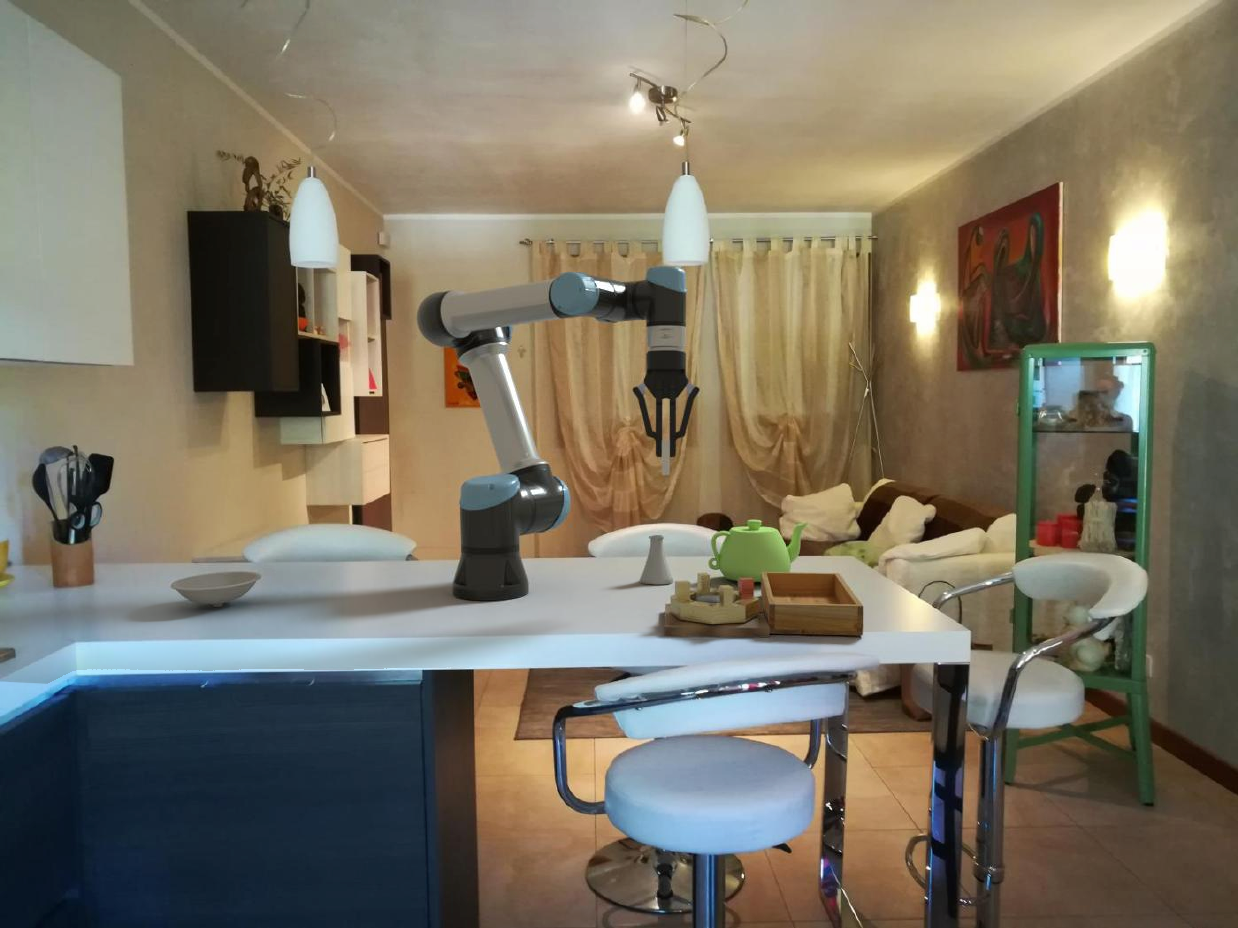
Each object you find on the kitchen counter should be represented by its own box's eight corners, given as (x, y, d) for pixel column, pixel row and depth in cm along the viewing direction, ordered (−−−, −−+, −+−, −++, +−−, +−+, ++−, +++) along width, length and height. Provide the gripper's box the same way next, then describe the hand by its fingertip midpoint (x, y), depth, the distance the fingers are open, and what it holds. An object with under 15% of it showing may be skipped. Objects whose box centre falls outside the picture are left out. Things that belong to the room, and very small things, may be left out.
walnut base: (664, 635, 145) (664, 609, 144) (665, 611, 162) (665, 588, 161) (771, 637, 144) (772, 610, 143) (761, 612, 161) (761, 589, 160)
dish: (225, 618, 157) (224, 590, 157) (151, 615, 159) (150, 588, 159) (278, 597, 175) (277, 572, 174) (211, 595, 177) (210, 570, 176)
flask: (673, 579, 192) (673, 533, 192) (673, 585, 185) (673, 538, 185) (640, 578, 193) (640, 533, 192) (638, 585, 186) (638, 538, 185)
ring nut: (663, 606, 158) (663, 574, 157) (738, 602, 161) (738, 570, 161) (687, 625, 144) (688, 590, 144) (768, 620, 147) (768, 586, 147)
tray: (760, 597, 176) (761, 569, 175) (839, 599, 174) (839, 570, 173) (768, 638, 145) (768, 603, 145) (863, 640, 143) (863, 605, 143)
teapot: (799, 573, 199) (800, 515, 198) (819, 586, 184) (820, 524, 183) (702, 574, 198) (702, 516, 197) (714, 588, 183) (715, 525, 182)
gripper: (630, 349, 165) (630, 475, 166) (701, 348, 164) (700, 476, 165) (632, 351, 172) (632, 472, 174) (700, 351, 171) (699, 473, 173)
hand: (665, 474), depth 169 cm, fingers closed
